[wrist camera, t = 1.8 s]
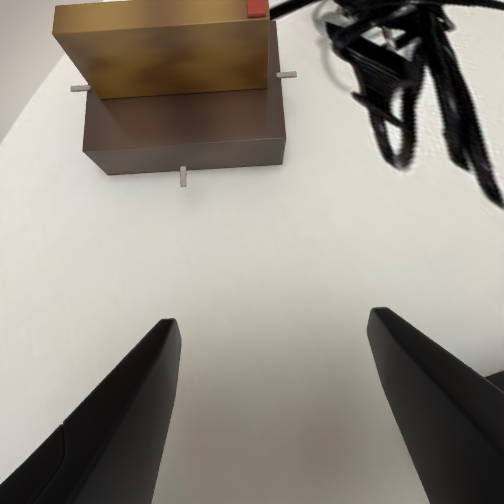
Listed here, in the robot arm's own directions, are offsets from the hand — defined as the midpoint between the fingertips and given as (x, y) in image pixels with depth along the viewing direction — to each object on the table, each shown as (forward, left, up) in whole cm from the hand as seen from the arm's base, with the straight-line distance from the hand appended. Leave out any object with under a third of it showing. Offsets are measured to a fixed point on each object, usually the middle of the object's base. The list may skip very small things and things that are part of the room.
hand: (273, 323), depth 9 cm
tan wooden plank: (+9, +15, -9) cm, 20 cm away
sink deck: (+9, +15, -13) cm, 22 cm away
